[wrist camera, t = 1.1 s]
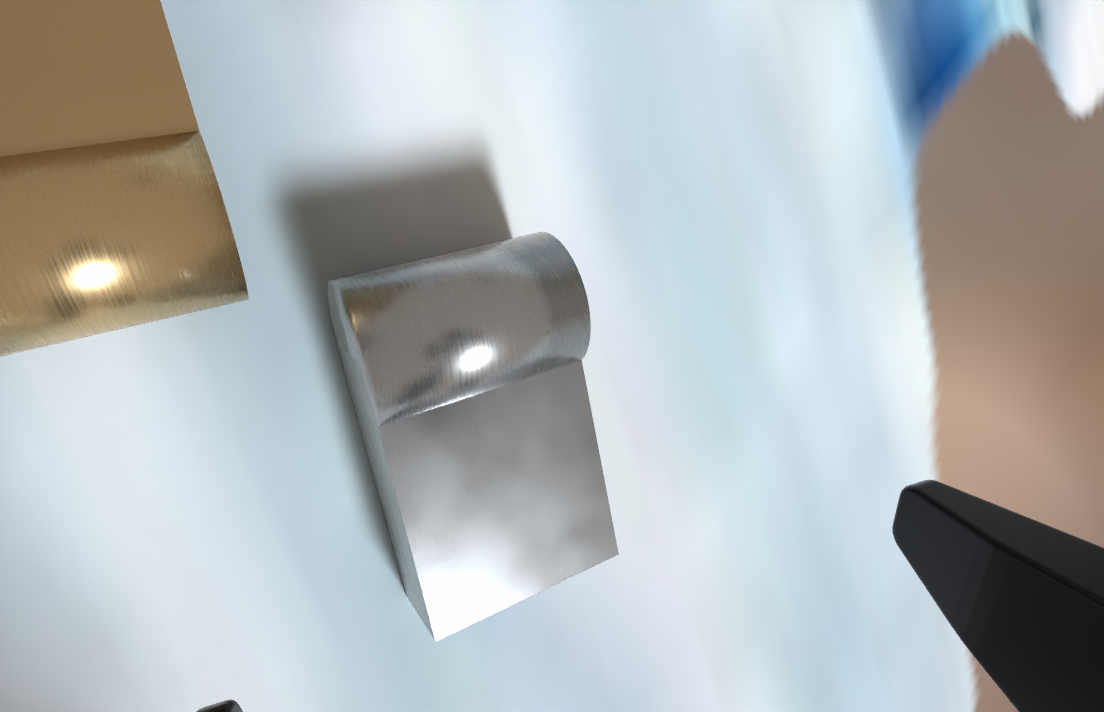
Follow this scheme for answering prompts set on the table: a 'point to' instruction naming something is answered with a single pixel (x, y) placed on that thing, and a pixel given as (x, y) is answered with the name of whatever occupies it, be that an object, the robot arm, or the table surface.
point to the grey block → (477, 422)
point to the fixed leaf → (102, 177)
